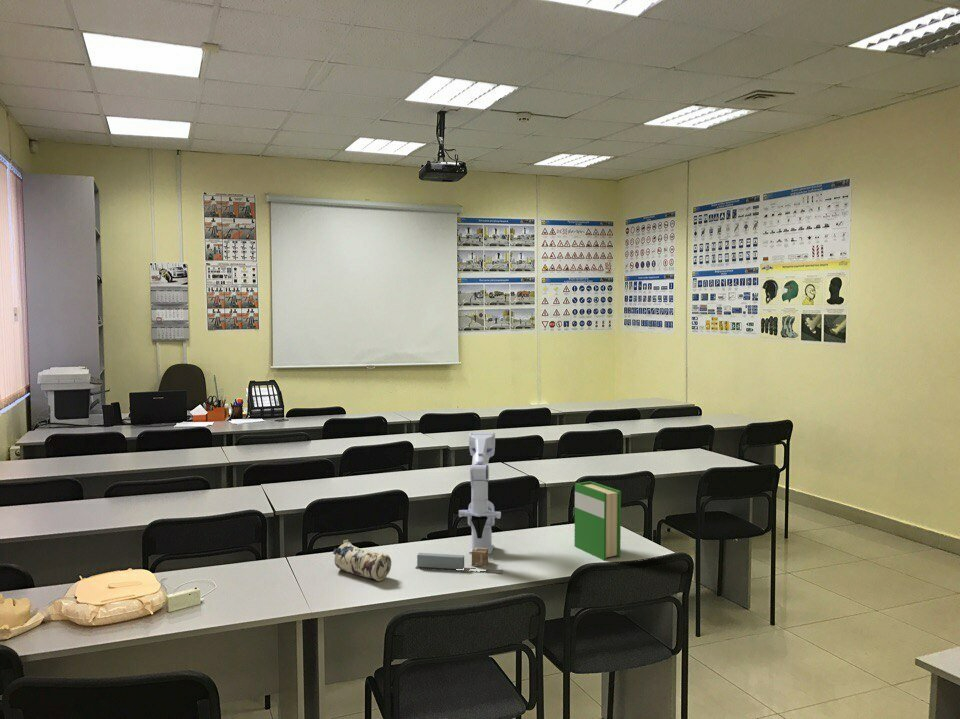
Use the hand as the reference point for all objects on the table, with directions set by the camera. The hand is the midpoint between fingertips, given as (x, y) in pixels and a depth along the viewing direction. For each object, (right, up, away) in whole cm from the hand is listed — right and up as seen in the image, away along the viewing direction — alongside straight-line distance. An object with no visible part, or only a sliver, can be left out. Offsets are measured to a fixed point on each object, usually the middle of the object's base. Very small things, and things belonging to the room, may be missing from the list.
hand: (479, 537), depth 251 cm
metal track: (-7, -10, -5) cm, 13 cm away
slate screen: (-13, -10, -4) cm, 17 cm away
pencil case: (-39, -10, -9) cm, 41 cm away
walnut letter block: (0, -10, +1) cm, 10 cm away
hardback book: (+43, -9, +14) cm, 46 cm away
